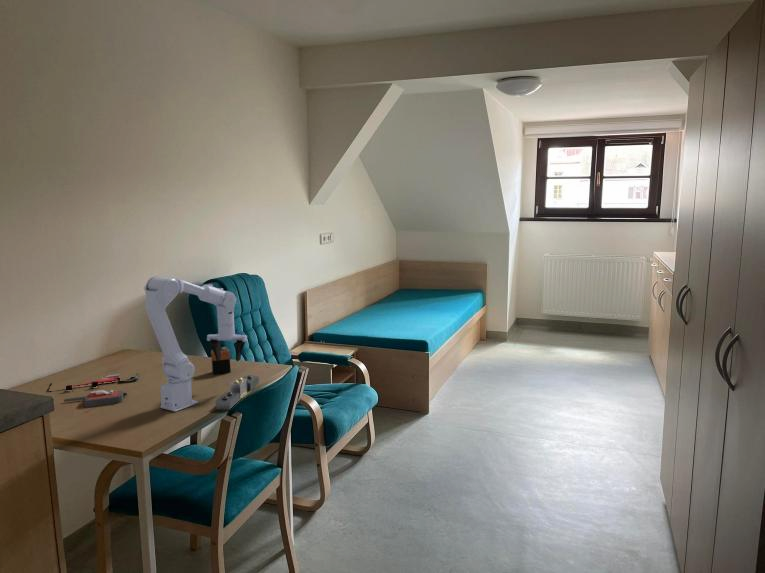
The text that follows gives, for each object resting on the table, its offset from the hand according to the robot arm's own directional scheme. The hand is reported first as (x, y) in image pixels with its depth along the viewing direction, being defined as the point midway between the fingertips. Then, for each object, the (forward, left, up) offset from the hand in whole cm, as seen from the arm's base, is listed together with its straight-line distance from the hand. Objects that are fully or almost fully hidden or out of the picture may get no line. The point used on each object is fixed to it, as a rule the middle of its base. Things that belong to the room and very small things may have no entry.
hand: (228, 360), depth 202 cm
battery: (+11, +17, -11) cm, 23 cm away
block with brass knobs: (-4, -9, -10) cm, 14 cm away
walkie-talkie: (-34, +30, -11) cm, 46 cm away
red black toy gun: (-22, +50, -11) cm, 55 cm away
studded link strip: (-5, -9, -11) cm, 15 cm away
